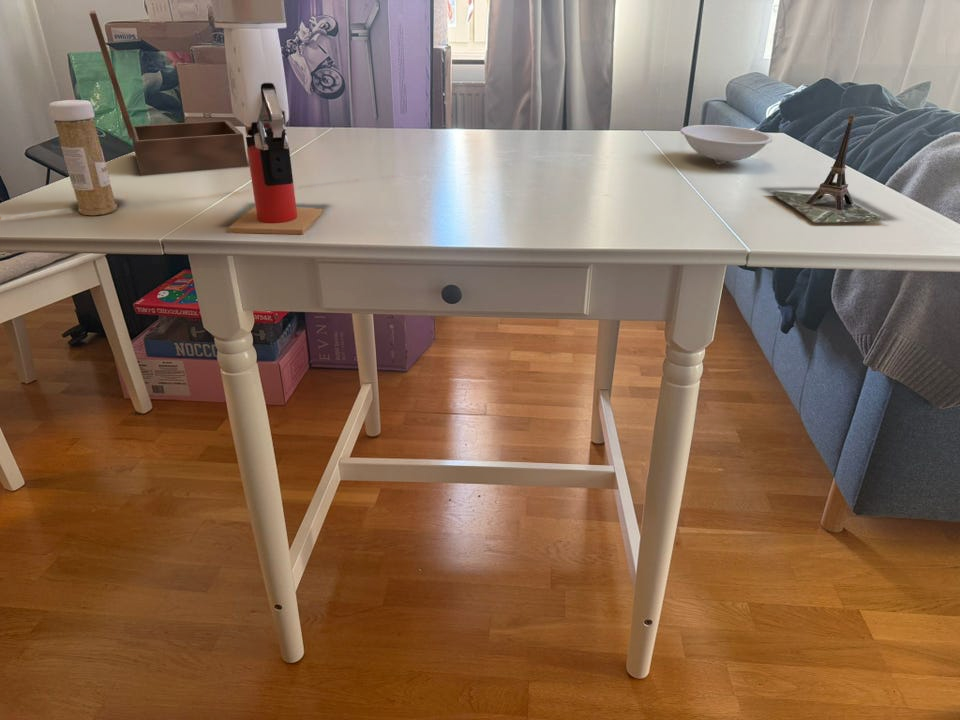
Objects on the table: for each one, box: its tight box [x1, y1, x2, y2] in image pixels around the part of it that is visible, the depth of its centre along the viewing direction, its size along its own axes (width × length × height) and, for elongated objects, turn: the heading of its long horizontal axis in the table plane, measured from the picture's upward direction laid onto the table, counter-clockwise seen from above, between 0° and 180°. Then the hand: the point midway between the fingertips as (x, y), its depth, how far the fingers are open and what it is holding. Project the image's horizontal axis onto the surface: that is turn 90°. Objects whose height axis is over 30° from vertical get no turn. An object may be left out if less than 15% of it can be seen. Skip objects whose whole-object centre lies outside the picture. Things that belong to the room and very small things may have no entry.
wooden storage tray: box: [131, 119, 249, 176], centre depth 109 cm, size 16×15×6 cm
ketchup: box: [246, 132, 297, 223], centre depth 81 cm, size 5×5×10 cm
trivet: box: [227, 206, 324, 235], centre depth 84 cm, size 9×9×1 cm
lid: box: [88, 10, 135, 140], centre depth 100 cm, size 16×15×1 cm
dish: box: [680, 124, 774, 165], centre depth 116 cm, size 18×14×5 cm
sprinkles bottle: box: [48, 99, 118, 216], centre depth 84 cm, size 5×5×14 cm
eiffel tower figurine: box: [767, 105, 888, 223], centre depth 89 cm, size 15×10×13 cm
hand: (271, 175), depth 81 cm, fingers open, 7 cm apart
